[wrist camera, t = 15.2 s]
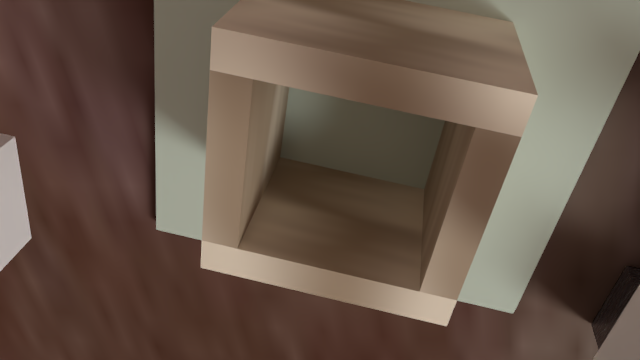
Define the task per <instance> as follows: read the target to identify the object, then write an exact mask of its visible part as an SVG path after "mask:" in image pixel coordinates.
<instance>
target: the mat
mask: <svg viewBox="0 0 640 360" xmlns="http://www.w3.org/2000/svg"><path fill="white" fill-rule="evenodd" d="M239 1H240V0H154V63H155V156H156V230H160V231H164V232H169V233H173V234H177V235H181V236H186V237H190V238H194V239H198V240H202V226H203V205H204V183H205V162H206V140H207V118H208V97H209V75H210V53H211V32H212V26H213V25H214V24H215V23H216V22H217V21H218V20H219V19H220V18H222V17H223V16H224V15H225V14H226V13H227V12H228V11H229V10H230V9H231V8H232V7H233V6H234V5H235V4H237V3H238V2H239ZM406 1H411V2H416V3H421V4H426V5H431V6H436V7H441V8H446V9H451V10H456V11H460V12H465V13H470V14H475V15H480V16H485V17H490V18H495V19H500V20H505V21H510V22H513V23H514V26H515V29H516V32H517V35H518V38H519V41H520V44H521V47H522V50H523V52H524V55H525V58H526V61H527V64H528V67H529V70H530V73H531V76H532V79H533V82H534V85H535V88H536V90H537V93H538V97H537V100H536V102H535V105H534V107H533V110H532V112H531V115H530V117H529V120H528V122H527V125H526V127H525V130H524V132H523V135H522V137H521V140H520V143H519V145H518V148H517V150H516V153H515V155H514V158H513V160H512V163H511V165H510V168H509V170H508V173H507V175H506V178H505V180H504V183H503V185H502V188H501V191H500V193H499V196H498V198H497V201H496V203H495V206H494V208H493V211H492V213H491V216H490V218H489V221H488V223H487V226H486V228H485V231H484V233H483V236H482V239H481V241H480V244H479V246H478V249H477V251H476V254H475V256H474V259H473V261H472V264H471V266H470V269H469V271H468V274H467V276H466V279H465V281H464V284H463V287H462V289H461V292H460V294H459V297H458V299H457V301H462V302H466V303H470V304H474V305H479V306H483V307H487V308H491V309H496V310H500V311H504V312H508V313H514V311H515V309H516V307H517V305H518V303H519V301H520V299H521V297H522V295H523V293H524V291H525V288H526V286H527V284H528V282H529V280H530V278H531V276H532V274H533V272H534V270H535V268H536V266H537V264H538V261H539V259H540V257H541V255H542V253H543V251H544V249H545V247H546V245H547V243H548V241H549V239H550V236H551V234H552V232H553V230H554V228H555V226H556V224H557V222H558V220H559V218H560V216H561V214H562V212H563V209H564V207H565V205H566V203H567V201H568V199H569V197H570V195H571V193H572V191H573V189H574V187H575V184H576V182H577V180H578V178H579V176H580V174H581V172H582V170H583V168H584V166H585V164H586V162H587V160H588V157H589V155H590V153H591V151H592V149H593V147H594V145H595V143H596V141H597V139H598V137H599V135H600V133H601V130H602V128H603V126H604V124H605V122H606V120H607V118H608V116H609V114H610V112H611V110H612V108H613V105H614V103H615V101H616V99H617V97H618V95H619V93H620V91H621V89H622V87H623V85H624V83H625V81H626V78H627V76H628V74H629V72H630V70H631V68H632V66H633V64H634V62H635V60H636V58H637V56H638V53H639V51H640V0H406ZM444 123H445V120H440V119H435V118H431V117H426V116H421V115H417V114H412V113H407V112H403V111H398V110H393V109H389V108H384V107H380V106H375V105H370V104H366V103H361V102H356V101H352V100H347V99H342V98H338V97H333V96H329V95H324V94H319V93H315V92H310V91H305V90H301V89H296V88H291V87H289V94H288V101H287V109H286V117H285V124H284V132H283V140H282V147H281V155H280V157H282V158H286V159H291V160H295V161H300V162H304V163H309V164H313V165H318V166H322V167H327V168H331V169H336V170H340V171H345V172H349V173H353V174H358V175H362V176H367V177H371V178H376V179H380V180H385V181H389V182H394V183H398V184H403V185H407V186H412V187H416V188H421V189H424V188H425V185H426V182H427V179H428V175H429V172H430V169H431V166H432V162H433V159H434V156H435V152H436V149H437V146H438V143H439V139H440V136H441V133H442V130H443V126H444Z"/></svg>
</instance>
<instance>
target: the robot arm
mask: <svg viewBox="0 0 640 360" xmlns="http://www.w3.org/2000/svg"><path fill="white" fill-rule="evenodd" d="M30 239H31V232H30V226H29V220H28V213H27V207H26V201H25V195H24V189H23V183H22V177H21V171H20V164H19V158H18V152H17V146H16V140H15V137H14V136H10V135H5V134H1V133H0V271H1V270H2V269H3V268H4V267H5V266H6V265H7V264H8V262H9V261H10V260H11V259H12V258H13V257H14V256H15V255H16V254H17V253H18V252H19V251H20V250H21V249H22V248H23V246H24V245H25V244H26V243H27V242H28V241H29V240H30ZM593 360H640V285H639V286H638V288H637V290H636V291H635V293H634V294H633V296H632V298H631V299H630V301H629V302H628V304H627V306H626V307H625V309H624V310H623V312H622V314H621V315H620V317H619V318H618V320H617V322H616V323H615V325H614V326H613V328H612V330H611V331H610V333H609V334H608V336H607V338H606V339H605V341H604V342H603V344H602V346H601V347H600V349H599V350H598V352H597V354H596V355H595V357H594V358H593Z"/></svg>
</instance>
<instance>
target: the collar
mask: <svg viewBox="0 0 640 360" xmlns="http://www.w3.org/2000/svg"><path fill="white" fill-rule="evenodd" d="M289 87H291V88H296V89H301V90H305V91H310V92H315V93H319V94H324V95H329V96H333V97H338V98H342V99H347V100H352V101H356V102H361V103H366V104H370V105H375V106H380V107H384V108H389V109H393V110H398V111H403V112H407V113H412V114H417V115H421V116H426V117H431V118H435V119H440V120H445V123H444V126H443V130H442V133H441V136H440V139H439V143H438V146H437V149H436V152H435V156H434V159H433V162H432V166H431V169H430V172H429V175H428V179H427V182H426V185H425V188H424V189H421V188H416V187H412V186H407V185H403V184H398V183H394V182H389V181H385V180H380V179H376V178H371V177H367V176H362V175H358V174H353V173H349V172H345V171H340V170H336V169H331V168H327V167H322V166H318V165H313V164H309V163H304V162H300V161H295V160H291V159H286V158H282V157H280V155H281V147H282V140H283V132H284V124H285V117H286V109H287V101H288V94H289ZM537 97H538V93H537V90H536V88H535V85H534V82H533V79H532V76H531V73H530V70H529V67H528V64H527V61H526V58H525V55H524V52H523V50H522V47H521V44H520V41H519V38H518V35H517V32H516V29H515V26H514V23H513V22H510V21H505V20H500V19H495V18H490V17H485V16H480V15H475V14H470V13H465V12H460V11H456V10H451V9H446V8H441V7H436V6H431V5H426V4H421V3H416V2H411V1H406V0H240V1H239V2H238V3H237V4H235V5H234V6H233V7H232V8H231V9H230V10H229V11H228V12H227V13H226V14H225V15H224V16H223V17H222V18H220V19H219V20H218V21H217V22H216V23H215V24H214V25H213V26H212V32H211V53H210V75H209V97H208V118H207V140H206V162H205V183H204V205H203V226H202V248H201V268H204V269H209V270H213V271H217V272H221V273H225V274H230V275H234V276H238V277H242V278H246V279H251V280H255V281H259V282H263V283H267V284H271V285H276V286H280V287H284V288H288V289H292V290H297V291H301V292H305V293H309V294H313V295H318V296H322V297H326V298H330V299H334V300H339V301H343V302H347V303H351V304H355V305H359V306H364V307H368V308H372V309H376V310H380V311H385V312H389V313H393V314H397V315H401V316H406V317H410V318H414V319H418V320H422V321H426V322H431V323H435V324H439V325H443V326H447V324H448V322H449V319H450V317H451V314H452V312H453V309H454V307H455V304H456V302H457V299H458V297H459V294H460V292H461V289H462V287H463V284H464V281H465V279H466V276H467V274H468V271H469V269H470V266H471V264H472V261H473V259H474V256H475V254H476V251H477V249H478V246H479V244H480V241H481V239H482V236H483V233H484V231H485V228H486V226H487V223H488V221H489V218H490V216H491V213H492V211H493V208H494V206H495V203H496V201H497V198H498V196H499V193H500V191H501V188H502V185H503V183H504V180H505V178H506V175H507V173H508V170H509V168H510V165H511V163H512V160H513V158H514V155H515V153H516V150H517V148H518V145H519V143H520V140H521V137H522V135H523V132H524V130H525V127H526V125H527V122H528V120H529V117H530V115H531V112H532V110H533V107H534V105H535V102H536V100H537Z"/></svg>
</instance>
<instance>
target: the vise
mask: <svg viewBox="0 0 640 360" xmlns="http://www.w3.org/2000/svg"><path fill="white" fill-rule="evenodd" d="M639 285H640V269H638V268H633V267H629V266H626V268H625V269H624V271H623V273H622V274H621V276H620V278H619V279H618V281H617V283H616V285H615V286H614V288H613V290H612V291H611V293H610V295H609V296H608V298H607V300H606V301H605V303H604V305H603V306H602V308H601V310H600V311H599V313H598V315H597V316H596V318H595V320H594V321H593V323H592V328H593V332H594V335H595V338H596V342H597V345H598V349H600V347H601V346H602V344H603V342H604V341H605V339H606V338H607V336H608V334H609V333H610V331H611V330H612V328H613V326H614V325H615V323H616V322H617V320H618V318H619V317H620V315H621V314H622V312H623V310H624V309H625V307H626V306H627V304H628V302H629V301H630V299H631V298H632V296H633V294H634V293H635V291H636V290H637V288H638V286H639Z"/></svg>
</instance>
